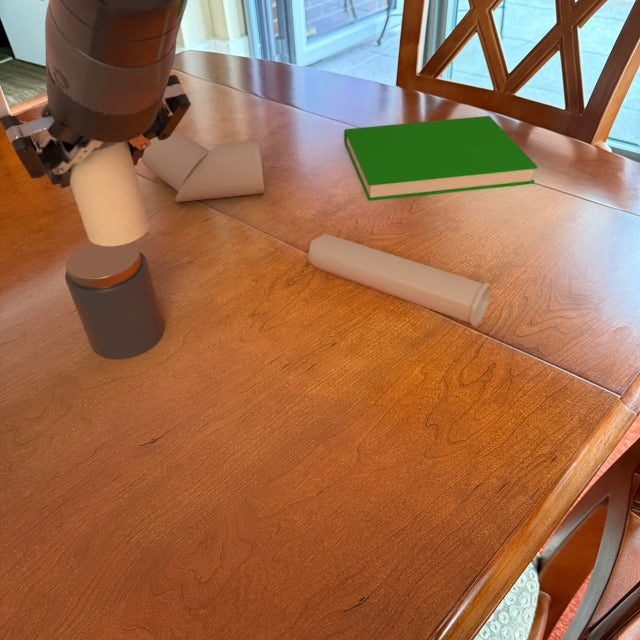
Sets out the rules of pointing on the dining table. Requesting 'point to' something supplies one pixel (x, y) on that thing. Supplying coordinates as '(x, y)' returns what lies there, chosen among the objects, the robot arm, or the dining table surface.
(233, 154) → the l-shaped cylinder
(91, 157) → the cream bottle
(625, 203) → the dining table surface
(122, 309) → the slate jar
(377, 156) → the book
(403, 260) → the tube
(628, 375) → the dining table surface
